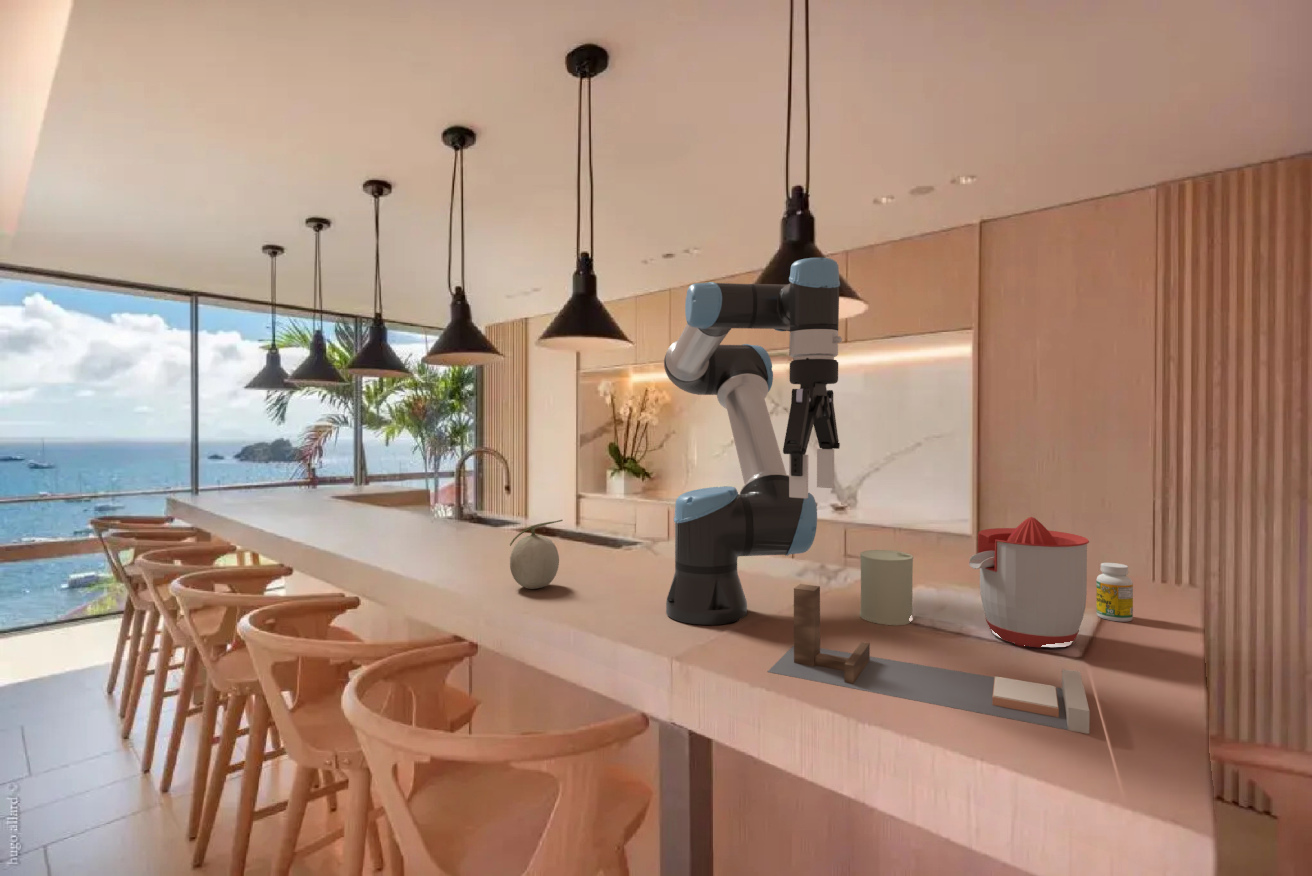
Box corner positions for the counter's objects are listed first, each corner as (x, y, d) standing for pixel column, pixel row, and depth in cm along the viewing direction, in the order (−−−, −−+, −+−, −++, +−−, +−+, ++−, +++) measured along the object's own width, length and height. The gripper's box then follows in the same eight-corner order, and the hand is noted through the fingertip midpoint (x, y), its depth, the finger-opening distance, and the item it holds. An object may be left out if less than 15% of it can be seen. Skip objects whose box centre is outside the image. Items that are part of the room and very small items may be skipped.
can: (918, 626, 112) (918, 558, 111) (862, 623, 114) (862, 556, 113) (908, 611, 121) (908, 547, 120) (857, 608, 123) (857, 546, 122)
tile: (992, 704, 80) (992, 695, 80) (994, 684, 86) (994, 675, 86) (1058, 717, 77) (1058, 707, 76) (1055, 695, 83) (1055, 685, 83)
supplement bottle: (1140, 622, 113) (1140, 568, 113) (1110, 622, 113) (1111, 568, 113) (1117, 613, 119) (1117, 561, 118) (1089, 613, 118) (1089, 561, 118)
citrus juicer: (951, 623, 113) (951, 510, 113) (1051, 623, 113) (1052, 510, 112) (995, 655, 98) (995, 524, 97) (1111, 655, 97) (1113, 524, 97)
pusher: (786, 670, 91) (785, 593, 91) (807, 649, 100) (807, 578, 100) (853, 683, 87) (853, 602, 86) (869, 659, 95) (869, 586, 95)
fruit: (497, 588, 140) (496, 519, 140) (543, 579, 148) (542, 514, 147) (522, 597, 132) (521, 525, 132) (569, 587, 140) (568, 519, 140)
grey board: (767, 674, 91) (767, 653, 91) (795, 646, 102) (795, 627, 102) (1089, 737, 72) (1089, 710, 72) (1079, 694, 84) (1080, 671, 84)
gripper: (812, 352, 89) (811, 504, 90) (857, 362, 111) (856, 485, 112) (761, 355, 93) (760, 500, 94) (815, 364, 114) (814, 482, 116)
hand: (812, 492), depth 103 cm, fingers open, 13 cm apart
